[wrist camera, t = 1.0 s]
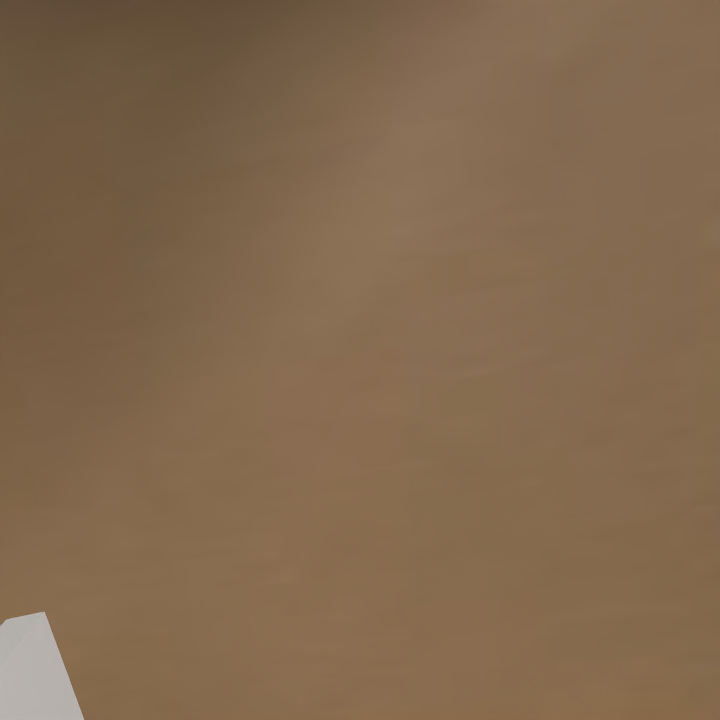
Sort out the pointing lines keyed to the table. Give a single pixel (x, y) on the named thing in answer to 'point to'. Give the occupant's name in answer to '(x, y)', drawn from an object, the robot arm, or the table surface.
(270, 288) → the table surface
